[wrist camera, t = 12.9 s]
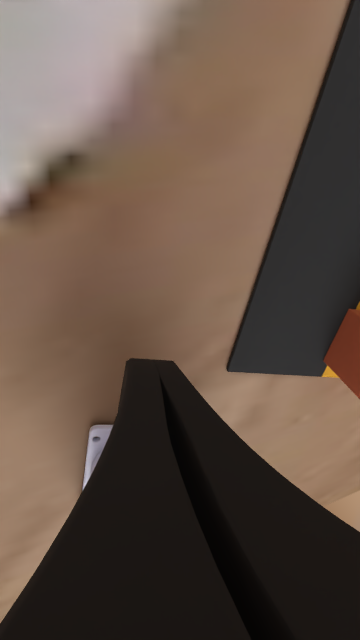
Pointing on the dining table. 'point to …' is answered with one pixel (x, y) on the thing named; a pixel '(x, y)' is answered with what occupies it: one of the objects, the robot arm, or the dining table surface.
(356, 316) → the terracotta block
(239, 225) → the dining table surface
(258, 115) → the dining table surface
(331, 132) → the line mat
